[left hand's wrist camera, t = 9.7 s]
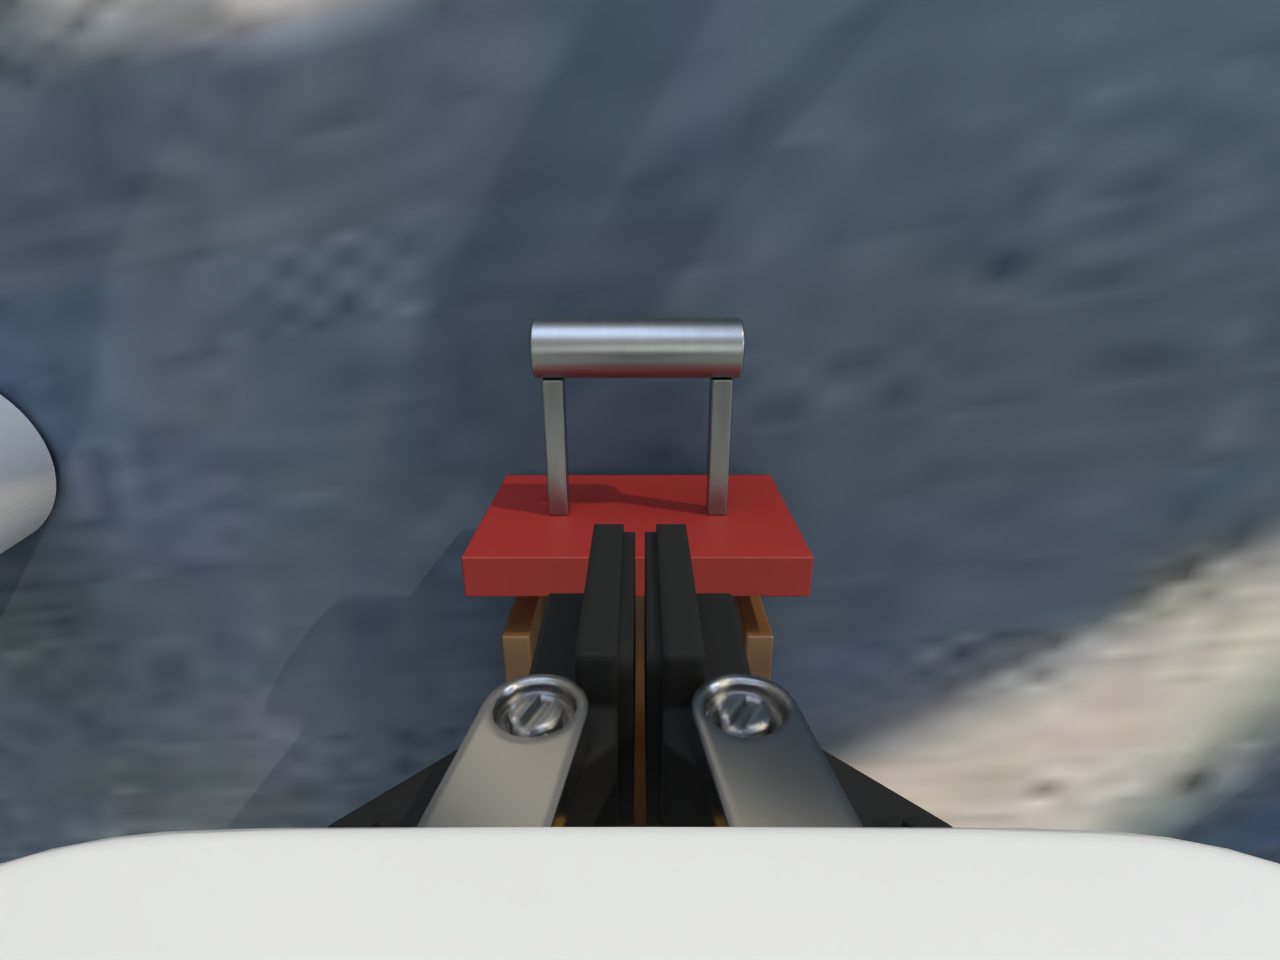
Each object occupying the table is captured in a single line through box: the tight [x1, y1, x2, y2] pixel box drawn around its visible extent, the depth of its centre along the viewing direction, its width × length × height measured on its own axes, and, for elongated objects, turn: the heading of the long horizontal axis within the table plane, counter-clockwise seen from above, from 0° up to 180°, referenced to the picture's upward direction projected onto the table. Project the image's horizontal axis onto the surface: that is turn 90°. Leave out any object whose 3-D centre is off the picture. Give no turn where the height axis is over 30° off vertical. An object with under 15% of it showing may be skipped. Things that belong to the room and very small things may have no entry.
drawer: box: [461, 317, 813, 827], centre depth 23 cm, size 23×9×6 cm, turn 0°
